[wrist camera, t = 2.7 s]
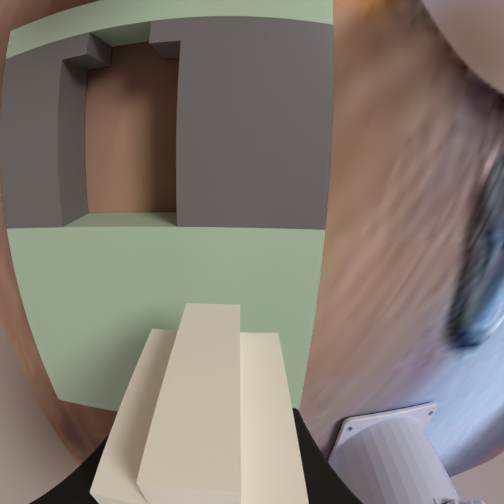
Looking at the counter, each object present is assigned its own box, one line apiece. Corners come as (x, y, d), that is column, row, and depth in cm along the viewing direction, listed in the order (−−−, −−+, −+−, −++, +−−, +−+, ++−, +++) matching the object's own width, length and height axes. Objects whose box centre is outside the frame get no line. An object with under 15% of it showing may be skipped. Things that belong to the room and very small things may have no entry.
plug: (261, 482, 13) (268, 580, 7) (184, 480, 13) (174, 576, 7) (280, 304, 9) (320, 487, 4) (148, 301, 9) (69, 466, 3)
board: (290, 389, 17) (296, 419, 15) (73, 374, 17) (58, 399, 14) (317, 15, 11) (332, -6, 8) (37, 41, 10) (10, 31, 8)
